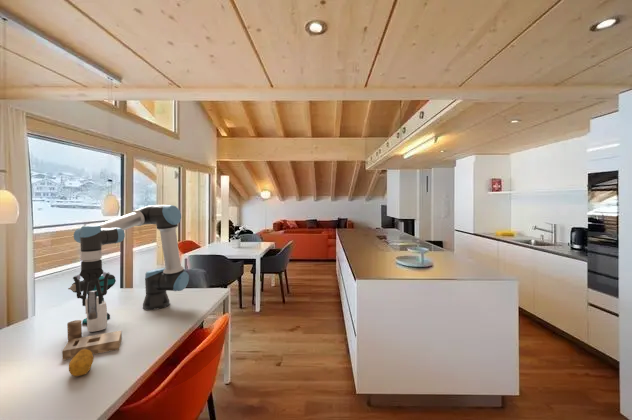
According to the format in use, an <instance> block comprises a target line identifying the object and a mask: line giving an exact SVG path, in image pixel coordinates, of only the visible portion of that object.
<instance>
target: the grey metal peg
mask: <svg viewBox="0 0 632 420" xmlns="http://www.w3.org/2000/svg"><path fill="white" fill-rule="evenodd" d="M87 298H88V319H89V320H92V319H96V318H98V315H97V305H96V298H97V291H89V292H88V294H87Z"/></svg>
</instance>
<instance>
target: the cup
mask: <svg viewBox="0 0 632 420" xmlns="http://www.w3.org/2000/svg"><path fill="white" fill-rule="evenodd" d="M107 313H108V310H107V302H106V301H105V300H104V301H102V304H100V311H99V312H97V315H98V318H96V319H92V320H89V319H88V314H86V318H87V323H86V325H87V331H88V332H91V333H92V332H93V333H94V332H99V331H102V330H105V329H107V327H108V319H107Z"/></svg>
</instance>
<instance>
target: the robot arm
mask: <svg viewBox="0 0 632 420" xmlns="http://www.w3.org/2000/svg"><path fill="white" fill-rule="evenodd" d="M181 219H182V213H181V211H180V208H178V207H177V206H176V205H173V204H152V205H147V206H142V207H140V208H137V209H134V210H132V211H131V212H130V213H127V214H125V215H122V216H119V217H116V218H113V219H110V220H107V221H105V222H100V223H99V224H98V223H97V224H94V225H93V224H92V225H91V224H89V225H82V226H81V227H80V228H77V229H76V230H74V233H73V240H74V241H75V242H76V243H79V244H80V260H81V262H80V272H79V274H77V275H74V276H73V277H72V280H73V281H74V282H75V285H76V293H75V294H76V298H77V299H81V300H82V302H81V303H82V307H85V315H87V314H88V294H87V291H88V285H89V281H95V284H96V289H97V293H98V296H97V298H96V305H97V312H99V311H100V304H102V296H103V297H104V296H106V295H107V293H108V290H107V285H108V276H109V274H111V273H110V272H106V271H104V270H103V263H102V259H103V255H102V254H103V253H102V249H103V248H102V246H104V245H112V244H118V243H121V242H123V241H124V240H125V236H126V235H125V230H129V229H131V228H134V227H141V226H144V225H156V229H157V231H159V234H160V238H161V239H160V241H161V249H162V253H163V261H164V267H163V268H156V269H151V270H148V271H146V272H145V278H144V279H145V280H144V283H145V296H144V299H143V303H142V309H144V310H149V311H150V310H151V311H152V310H159V309H164V308H167V307H168V306H169V305H170V298H169V295H168V293H167V291H173V292H180V291H183V290H185V289H186V287H187V286H188V283H189V280H190V275H189V273H188V272H187V271H185V269H184V267H183V266H182V265H181V260H180V259H181V258H180V251H179V245H178V236H177V228H178V227H179V225H178V224H179V223H181ZM102 275H103V277H105V278H104V287H103V293H102V291H101V286H100V282H99V278H100V276H102ZM81 278H82V279H83V280H85V285H84V290H83V291H82V292H81V287H80V281H81Z"/></svg>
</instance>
